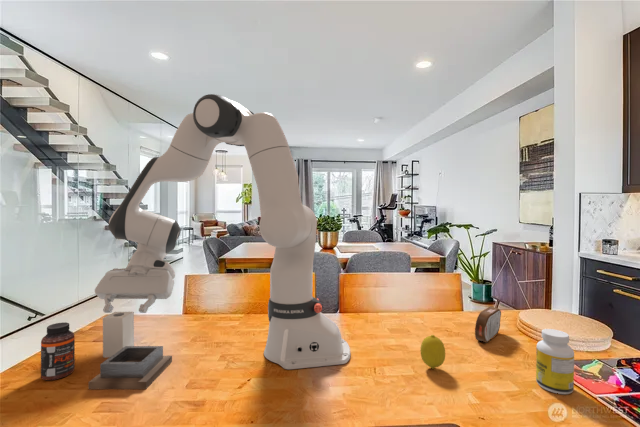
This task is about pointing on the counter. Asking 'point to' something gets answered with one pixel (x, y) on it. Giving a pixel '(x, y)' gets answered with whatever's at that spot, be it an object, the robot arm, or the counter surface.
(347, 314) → the counter surface
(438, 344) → the lemon
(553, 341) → the pill bottle
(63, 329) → the supplement bottle
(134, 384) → the walnut jig board
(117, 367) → the socket collar
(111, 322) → the nylon bushing block
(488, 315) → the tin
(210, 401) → the counter surface
